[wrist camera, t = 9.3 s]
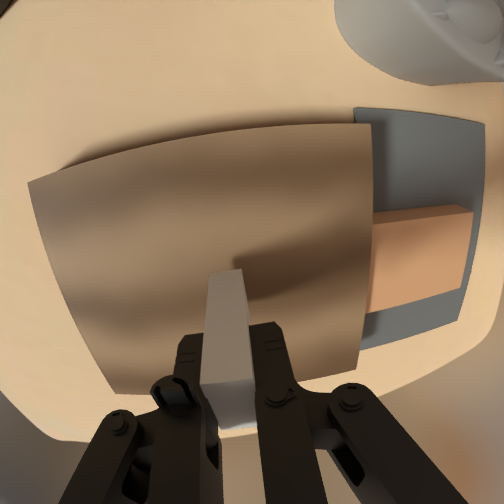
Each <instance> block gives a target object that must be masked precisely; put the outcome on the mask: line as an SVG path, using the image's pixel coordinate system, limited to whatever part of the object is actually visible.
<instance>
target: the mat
mask: <svg viewBox="0 0 504 504" xmlns="http://www.w3.org/2000/svg"><path fill="white" fill-rule="evenodd" d="M353 110H354V122H355V124H371V137H372V157H373V213H376V212H385V211H394V210H403V209H412V208H422V207H432V206H442V205H452V204H457V205H459V206H461V207H464V208H466V209H468V210H470V211H472V212H473V221H472V229H471V236H470V242H469V248H468V254H467V259H466V264H465V269H464V273H463V278H462V282H461V286H460V288H457V289H454V290H451V291H448V292H445V293H441V294H438V295H435V296H431V297H428V298H424V299H421V300H417V301H414V302H410V303H406V304H403V305H399V306H395V307H391V308H387V309H383V310H379V311H375V312H371V313H366V314H365V318H364V325H363V332H362V338H361V344H360V350H364V349H368V348H372V347H376V346H380V345H383V344H387V343H391V342H394V341H397V340H401V339H404V338H407V337H411V336H414V335H417V334H420V333H423V332H426V331H429V330H432V329H435V328H438V327H441V326H444V325H446V324H449V323H452V322H455V321H457V319H458V316H459V313H460V310H461V306H462V303H463V300H464V296H465V293H466V289H467V285H468V281H469V277H470V273H471V269H472V264H473V260H474V255H475V250H476V245H477V239H478V233H479V227H480V219H481V212H482V203H483V192H484V177H485V124H482V123H477V122H472V121H468V120H463V119H457V118H452V117H446V116H440V115H433V114H426V113H418V112H409V111H399V110H387V109H372V108H353ZM360 350H359V351H360Z"/></svg>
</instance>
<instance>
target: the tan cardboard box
mask: <svg viewBox="0 0 504 504" xmlns="http://www.w3.org/2000/svg"><path fill="white" fill-rule="evenodd" d="M472 221H473V212H472V211H470V210H468V209H466V208H464V207H461V206H459V205H457V204H452V205H442V206H432V207H422V208H412V209H403V210H394V211H385V212H376V213H373V225H372V246H371V261H370V273H369V284H368V293H367V302H366V310H365V314H366V313H371V312H375V311H379V310H383V309H387V308H391V307H395V306H399V305H403V304H406V303H410V302H414V301H417V300H421V299H424V298H428V297H431V296H435V295H438V294H441V293H445V292H448V291H451V290H454V289H457V288H460V286H461V282H462V278H463V273H464V269H465V264H466V259H467V254H468V248H469V242H470V236H471V229H472Z"/></svg>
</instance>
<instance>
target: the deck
mask: <svg viewBox="0 0 504 504" xmlns="http://www.w3.org/2000/svg"><path fill="white" fill-rule="evenodd" d="M28 188H29V193H30V197H31V201H32V205H33V209H34V213H35V217H36V221H37V224H38V228H39V231H40V234H41V238H42V241H43V244H44V247H45V250H46V253H47V256H48V259H49V262H50V265H51V267H52V270H53V273H54V275H55V278H56V280H57V283H58V285H59V288H60V290H61V293H62V295H63V297H64V300H65V302H66V304H67V306H68V309H69V311H70V313H71V315H72V317H73V319H74V322H75V324H76V326H77V328H78V330H79V332H80V334H81V336H82V338H83V340H84V341H85V343H86V345H87V347H88V349H89V351H90V353H91V354H92V356H93V358H94V360H95V361H96V363H97V365H98V367H99V368H100V370H101V372H102V373H103V375H104V377H105V378H106V380H107V381H108V383H109V385H110V386H111V388H112V389H113V391H114V392H115V394H134V395H151V394H150V390H151V387H152V385H153V384H154V383H155V382H156V381H157V380H159V379H161V378H163V377H165V376H168V375H173V371H174V365H175V359H176V356H177V348H178V344H179V342H180V341H181V339H182V338H183V337H184V335H188V334H196V333H204V325H205V314H206V304H207V294H208V285H209V275H210V273H217V272H223V271H229V270H236V269H242V274H243V280H244V285H245V291H246V296H247V302H248V307H249V313H250V319H251V325H255V324H261V323H267V322H273V321H275V322H276V323H277V324H278V325H279V326H280V327H281V328H282V331H283V335H284V339H285V343H286V347H287V351H288V355H289V358H290V362H291V366H292V370H293V374H294V378H295V380H296V382H300V381H306V380H311V379H316V378H321V377H325V376H330V375H335V374H339V373H343V372H347V371H351V370H355V369H356V367H357V361H358V356H359V350H360V344H361V338H362V332H363V325H364V318H365V310H366V302H367V293H368V284H369V273H370V261H371V246H372V225H373V157H372V137H371V124H304V125H286V126H273V127H262V128H252V129H243V130H234V131H227V132H219V133H212V134H206V135H200V136H194V137H188V138H182V139H177V140H172V141H167V142H162V143H157V144H153V145H148V146H144V147H139V148H135V149H131V150H127V151H123V152H119V153H116V154H112V155H108V156H105V157H101V158H98V159H94V160H91V161H87V162H84V163H81V164H78V165H75V166H72V167H69V168H66V169H63V170H60V171H57V172H54V173H51V174H49V175H46V176H43V177H41V178H38V179H35V180H33V181H30V182H28Z"/></svg>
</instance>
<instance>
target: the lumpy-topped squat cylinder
mask: <svg viewBox="0 0 504 504" xmlns="http://www.w3.org/2000/svg"><path fill="white" fill-rule="evenodd" d="M334 12H335V19H336V23H337V27H338V29H339V31H340V33H341V35H342V37H343V38H344V40H345V41H346V43H347V44H348V45H349V46H350V47H351V49H352V50H353V51H354V52H355V53H356V54H358V55H359V56H360V57H361V58H362V59H364V60H365V61H367V62H368V63H370V64H371V65H373V66H374V67H376V68H378V69H379V70H381V71H383V72H385V73H387V74H389V75H391V76H393V77H396V78H399V79H402V80H405V81H409V82H413V83H417V84H422V85H427V86H435V85H445V84H457V83H472V82H504V0H334Z"/></svg>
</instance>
